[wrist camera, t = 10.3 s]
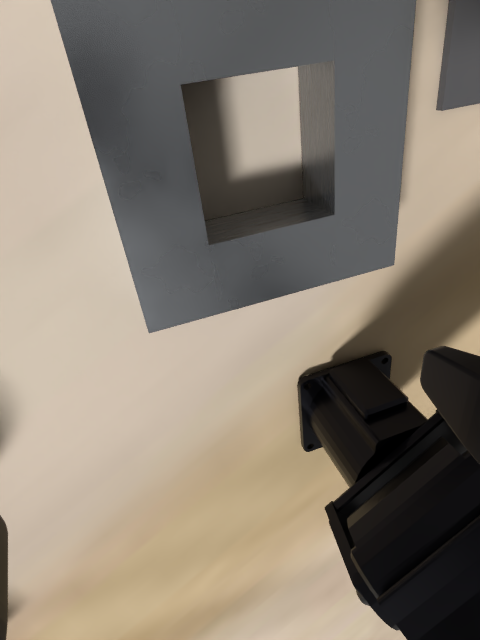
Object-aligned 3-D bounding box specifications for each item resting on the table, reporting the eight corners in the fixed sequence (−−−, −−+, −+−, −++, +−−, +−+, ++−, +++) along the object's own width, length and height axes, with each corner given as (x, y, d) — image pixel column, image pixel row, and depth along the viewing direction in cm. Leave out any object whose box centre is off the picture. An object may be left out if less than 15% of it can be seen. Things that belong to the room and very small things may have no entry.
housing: (359, 244, 22) (394, 264, 20) (140, 302, 20) (148, 333, 17) (369, -45, 16) (421, -68, 13) (48, -13, 13) (40, -34, 11)
